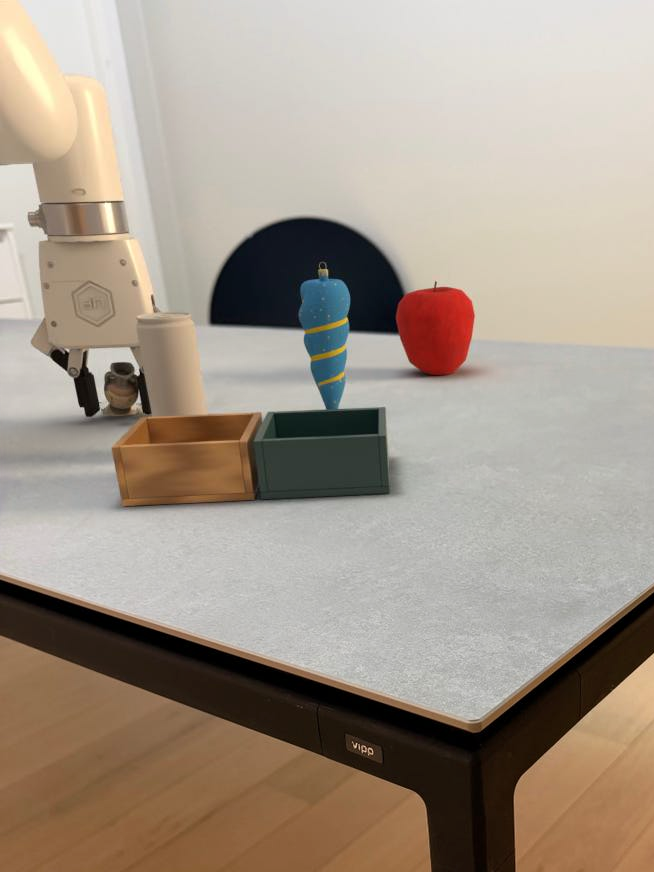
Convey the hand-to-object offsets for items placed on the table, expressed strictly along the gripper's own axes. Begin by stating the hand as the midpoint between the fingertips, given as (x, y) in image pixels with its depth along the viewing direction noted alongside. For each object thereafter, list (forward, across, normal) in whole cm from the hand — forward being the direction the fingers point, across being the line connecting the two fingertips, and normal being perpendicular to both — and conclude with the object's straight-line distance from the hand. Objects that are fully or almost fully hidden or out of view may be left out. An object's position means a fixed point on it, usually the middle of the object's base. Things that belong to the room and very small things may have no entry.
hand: (121, 411), depth 99 cm
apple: (+1, +34, +19) cm, 39 cm away
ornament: (+1, +22, -3) cm, 22 cm away
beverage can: (+1, +9, -15) cm, 18 cm away
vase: (+1, 0, 0) cm, 1 cm away
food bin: (+1, +12, -26) cm, 28 cm away
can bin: (+1, +22, -26) cm, 34 cm away
